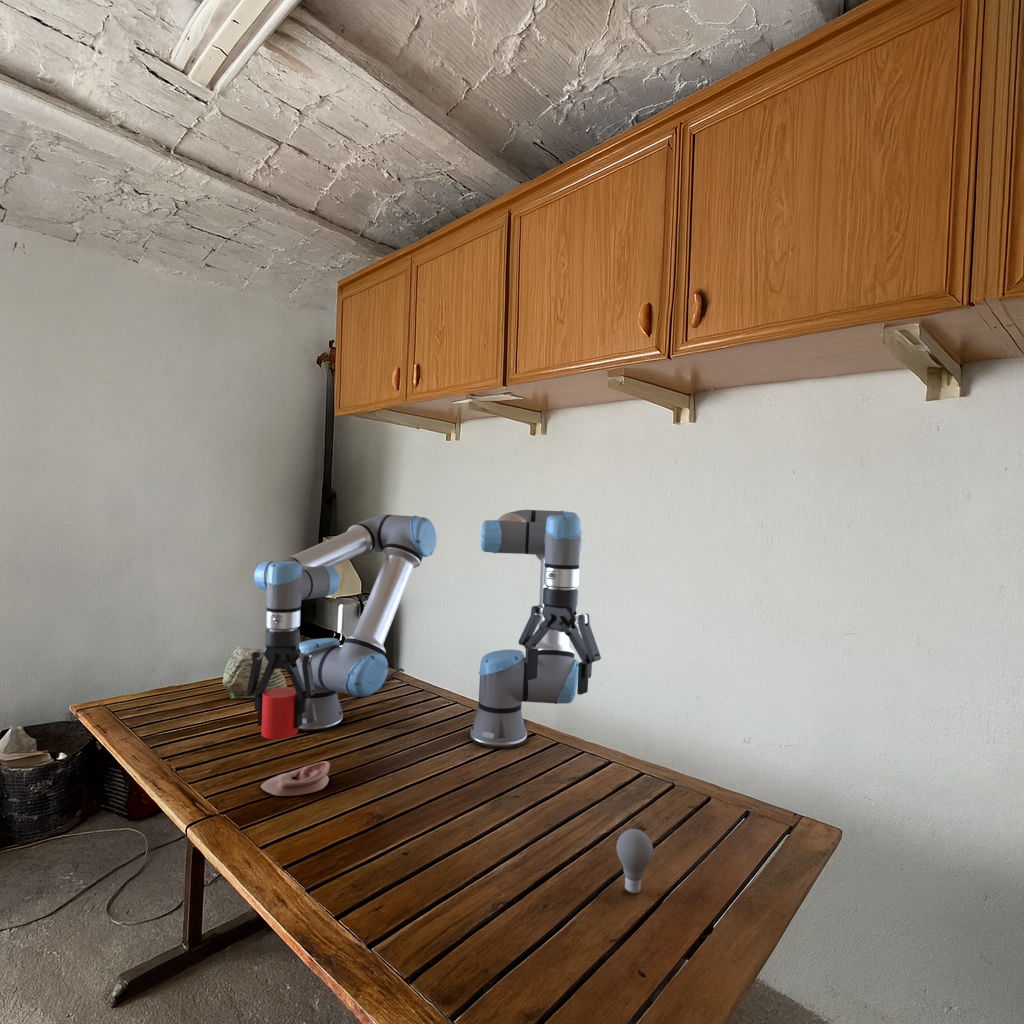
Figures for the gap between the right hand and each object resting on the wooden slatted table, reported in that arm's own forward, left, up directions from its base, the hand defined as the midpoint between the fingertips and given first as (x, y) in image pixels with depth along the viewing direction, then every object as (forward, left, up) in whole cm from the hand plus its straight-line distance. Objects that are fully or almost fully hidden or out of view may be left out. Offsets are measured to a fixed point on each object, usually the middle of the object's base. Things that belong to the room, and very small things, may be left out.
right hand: (556, 685), depth 136 cm
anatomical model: (+35, -43, -25) cm, 61 cm away
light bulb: (+16, +29, -25) cm, 41 cm away
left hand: (+33, -55, -15) cm, 66 cm away
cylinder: (+33, -55, -17) cm, 66 cm away
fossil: (+12, -108, -25) cm, 111 cm away
